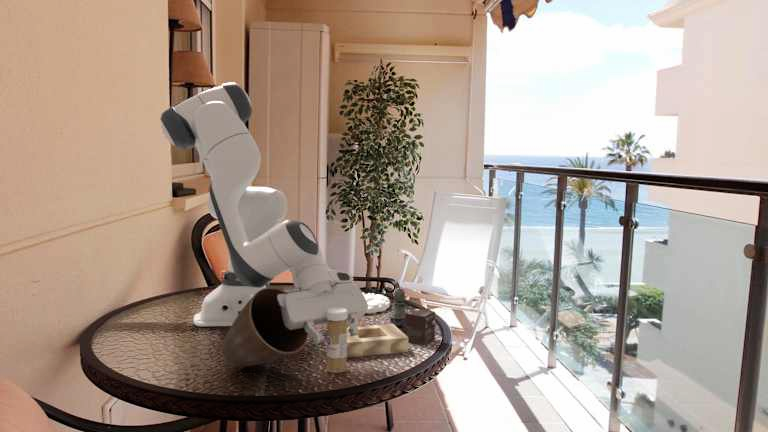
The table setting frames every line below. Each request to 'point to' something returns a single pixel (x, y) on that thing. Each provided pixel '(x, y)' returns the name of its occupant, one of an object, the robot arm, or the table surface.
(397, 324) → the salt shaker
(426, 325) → the box
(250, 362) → the plant pot
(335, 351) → the sprinkles bottle
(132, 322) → the table surface
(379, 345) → the holder
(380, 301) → the embossed medallion
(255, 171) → the robot arm
